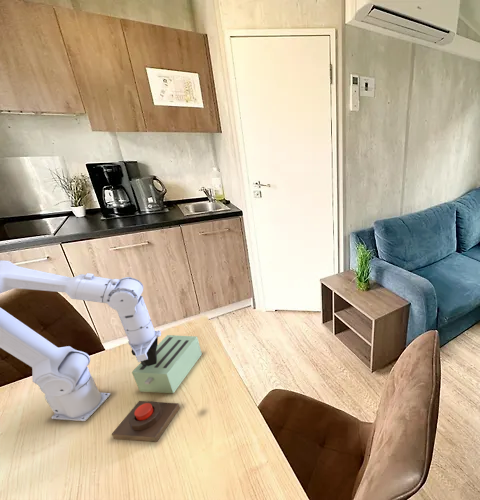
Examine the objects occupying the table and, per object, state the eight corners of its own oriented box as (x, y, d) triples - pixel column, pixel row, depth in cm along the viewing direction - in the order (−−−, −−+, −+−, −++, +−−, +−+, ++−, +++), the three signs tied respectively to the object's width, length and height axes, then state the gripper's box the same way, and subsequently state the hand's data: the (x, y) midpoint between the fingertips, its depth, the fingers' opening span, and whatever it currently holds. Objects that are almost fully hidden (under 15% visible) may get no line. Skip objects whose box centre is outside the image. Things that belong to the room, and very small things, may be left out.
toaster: (135, 396, 79) (126, 376, 76) (173, 352, 94) (167, 334, 91) (169, 398, 79) (162, 378, 75) (202, 354, 94) (197, 336, 91)
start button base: (113, 438, 69) (108, 429, 67) (141, 405, 77) (137, 395, 75) (157, 441, 68) (153, 432, 66) (180, 407, 76) (177, 398, 75)
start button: (132, 420, 70) (130, 415, 69) (143, 407, 73) (141, 402, 72) (146, 421, 69) (144, 416, 69) (156, 408, 73) (155, 403, 72)
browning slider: (141, 365, 80) (139, 358, 78) (146, 359, 81) (144, 352, 80) (147, 365, 79) (145, 358, 78) (152, 360, 81) (150, 353, 80)
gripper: (154, 335, 69) (169, 375, 74) (156, 304, 80) (169, 342, 86) (118, 345, 65) (136, 387, 71) (126, 312, 77) (140, 350, 82)
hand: (152, 363), depth 78 cm, fingers closed
